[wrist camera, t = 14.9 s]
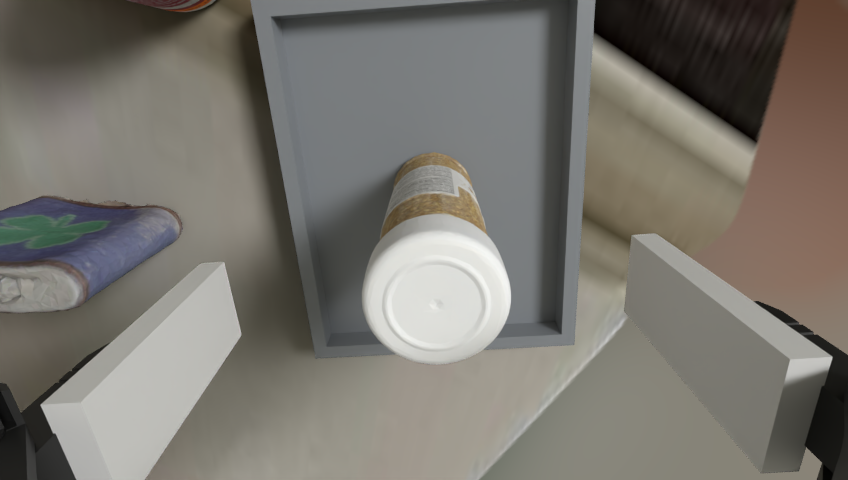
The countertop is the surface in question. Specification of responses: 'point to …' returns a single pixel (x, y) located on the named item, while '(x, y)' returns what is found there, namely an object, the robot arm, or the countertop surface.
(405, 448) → the countertop surface
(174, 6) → the pill bottle
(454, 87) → the tray
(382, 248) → the sprinkles bottle
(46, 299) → the flask
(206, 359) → the robot arm
